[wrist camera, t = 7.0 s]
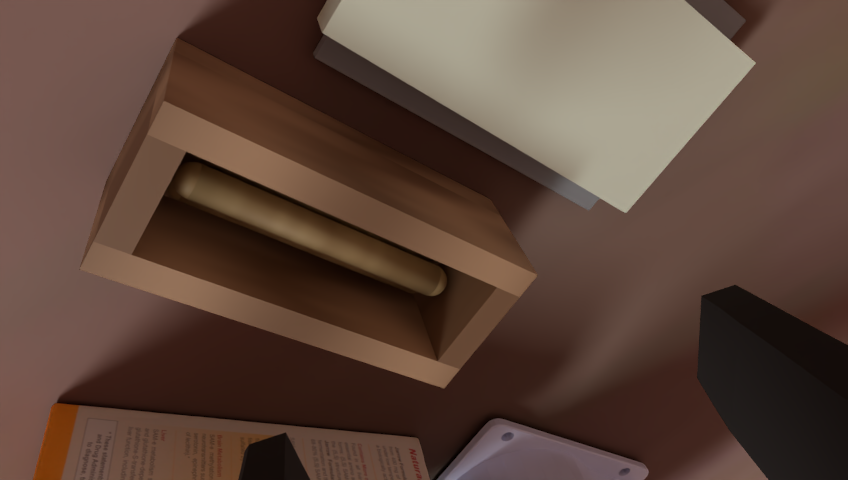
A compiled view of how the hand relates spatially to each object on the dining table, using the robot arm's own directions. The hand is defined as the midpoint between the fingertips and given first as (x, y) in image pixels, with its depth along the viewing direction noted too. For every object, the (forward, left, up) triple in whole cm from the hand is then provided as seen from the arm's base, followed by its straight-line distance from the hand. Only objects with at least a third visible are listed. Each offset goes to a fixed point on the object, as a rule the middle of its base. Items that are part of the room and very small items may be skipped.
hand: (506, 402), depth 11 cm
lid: (-2, -5, -9) cm, 11 cm away
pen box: (+1, +2, -10) cm, 10 cm away
